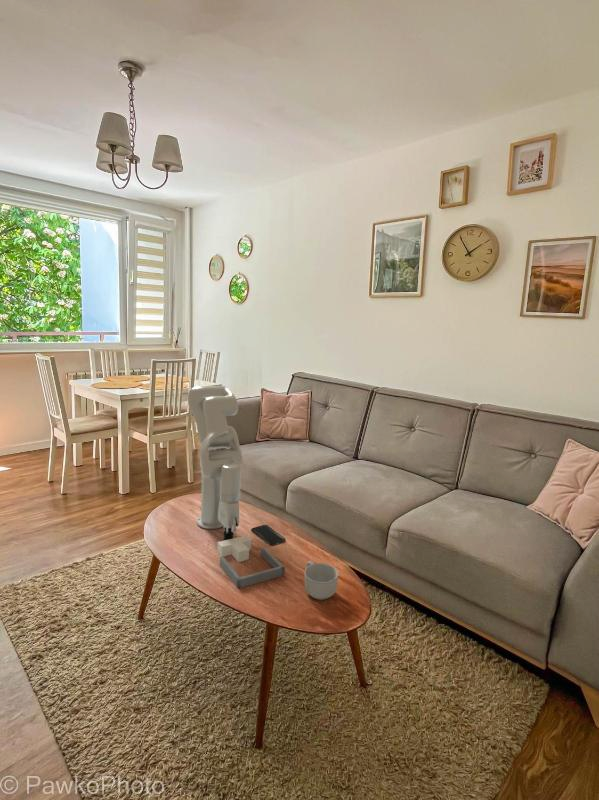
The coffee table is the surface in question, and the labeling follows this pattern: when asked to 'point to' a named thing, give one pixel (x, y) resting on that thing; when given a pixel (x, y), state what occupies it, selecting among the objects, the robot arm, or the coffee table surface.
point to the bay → (256, 577)
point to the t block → (235, 548)
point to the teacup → (320, 580)
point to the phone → (268, 534)
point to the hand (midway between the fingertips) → (228, 540)
